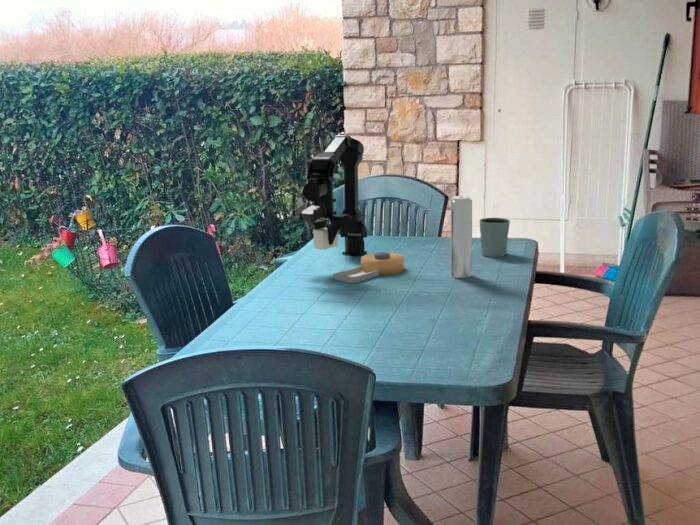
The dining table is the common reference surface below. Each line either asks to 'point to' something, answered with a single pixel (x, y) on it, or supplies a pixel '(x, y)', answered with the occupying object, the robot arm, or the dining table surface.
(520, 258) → the dining table surface
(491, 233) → the grey plant pot
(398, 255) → the orange and grey base
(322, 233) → the cream rectangular block
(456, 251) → the white tall cylinder
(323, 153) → the robot arm
